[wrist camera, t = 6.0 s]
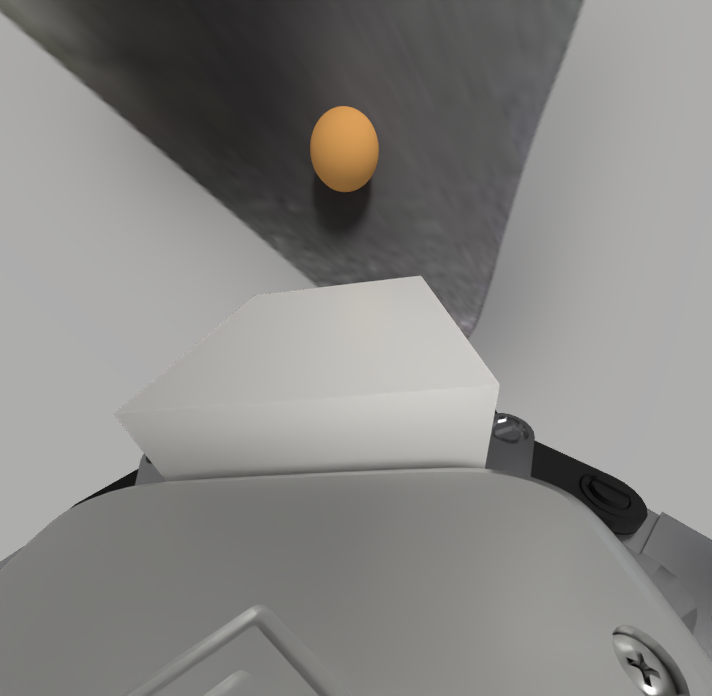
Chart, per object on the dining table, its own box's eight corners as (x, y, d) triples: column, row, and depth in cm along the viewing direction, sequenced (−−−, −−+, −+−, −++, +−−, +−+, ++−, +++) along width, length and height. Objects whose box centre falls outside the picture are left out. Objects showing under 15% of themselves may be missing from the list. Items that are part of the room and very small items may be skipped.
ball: (310, 123, 20) (295, 103, 16) (374, 111, 20) (376, 87, 15) (322, 196, 23) (312, 196, 18) (379, 187, 22) (383, 185, 18)
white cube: (254, 295, 12) (113, 414, 5) (421, 275, 11) (499, 384, 5) (294, 416, 16) (240, 575, 9) (421, 407, 15) (465, 573, 8)
